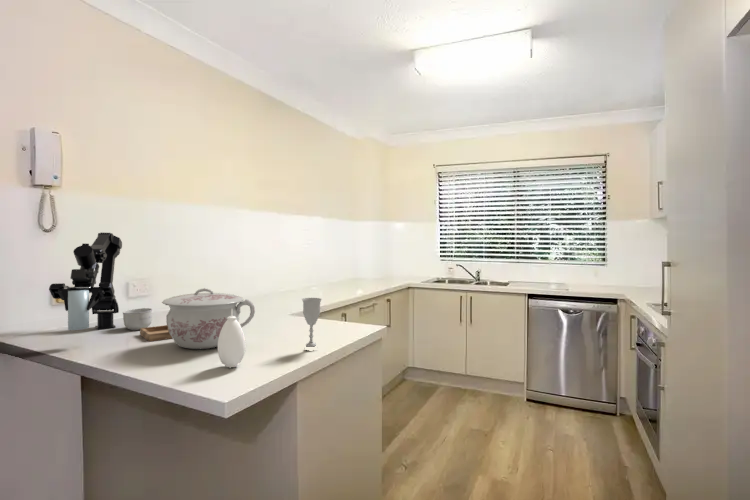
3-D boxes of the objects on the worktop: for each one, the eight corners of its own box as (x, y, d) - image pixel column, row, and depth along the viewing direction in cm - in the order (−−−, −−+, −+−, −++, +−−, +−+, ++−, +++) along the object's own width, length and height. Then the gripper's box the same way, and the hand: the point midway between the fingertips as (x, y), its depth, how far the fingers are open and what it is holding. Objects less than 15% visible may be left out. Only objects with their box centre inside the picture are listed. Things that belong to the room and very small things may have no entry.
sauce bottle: (237, 361, 132) (237, 305, 132) (249, 367, 127) (250, 308, 126) (213, 366, 127) (213, 307, 126) (225, 372, 121) (225, 311, 121)
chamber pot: (144, 348, 146) (144, 289, 146) (208, 333, 171) (208, 282, 170) (199, 360, 133) (199, 295, 133) (260, 342, 158) (260, 287, 157)
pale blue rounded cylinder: (66, 327, 146) (66, 290, 145) (87, 325, 150) (87, 289, 149) (69, 330, 141) (69, 292, 141) (90, 328, 145) (90, 291, 145)
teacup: (142, 331, 171) (142, 312, 171) (116, 331, 171) (116, 311, 171) (161, 324, 185) (161, 306, 185) (136, 324, 185) (136, 306, 185)
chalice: (325, 349, 148) (325, 299, 148) (309, 353, 143) (310, 301, 143) (312, 345, 153) (312, 297, 153) (297, 349, 148) (297, 298, 148)
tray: (140, 334, 166) (140, 328, 165) (172, 330, 174) (172, 324, 174) (149, 341, 155) (149, 334, 155) (183, 337, 163) (183, 330, 163)
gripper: (50, 260, 145) (37, 296, 135) (112, 260, 151) (103, 294, 141) (59, 280, 153) (47, 316, 143) (118, 279, 159) (110, 313, 149)
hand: (77, 309), depth 144 cm, fingers closed on pale blue rounded cylinder, 6 cm apart
